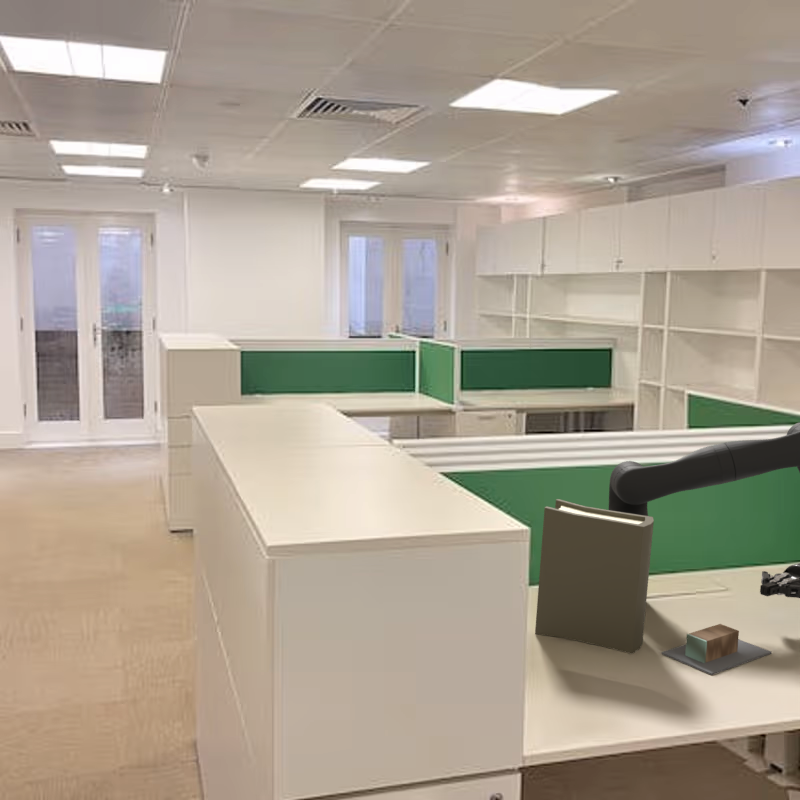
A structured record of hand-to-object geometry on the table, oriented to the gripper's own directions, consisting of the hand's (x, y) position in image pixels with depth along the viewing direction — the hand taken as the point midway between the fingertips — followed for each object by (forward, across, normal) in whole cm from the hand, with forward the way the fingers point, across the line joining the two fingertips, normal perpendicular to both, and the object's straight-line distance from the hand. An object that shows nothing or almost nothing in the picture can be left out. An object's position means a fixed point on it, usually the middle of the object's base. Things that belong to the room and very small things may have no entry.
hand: (763, 590), depth 195 cm
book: (+31, -20, +11) cm, 38 cm away
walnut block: (+12, 0, +8) cm, 14 cm away
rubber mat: (+15, 0, +11) cm, 19 cm away
